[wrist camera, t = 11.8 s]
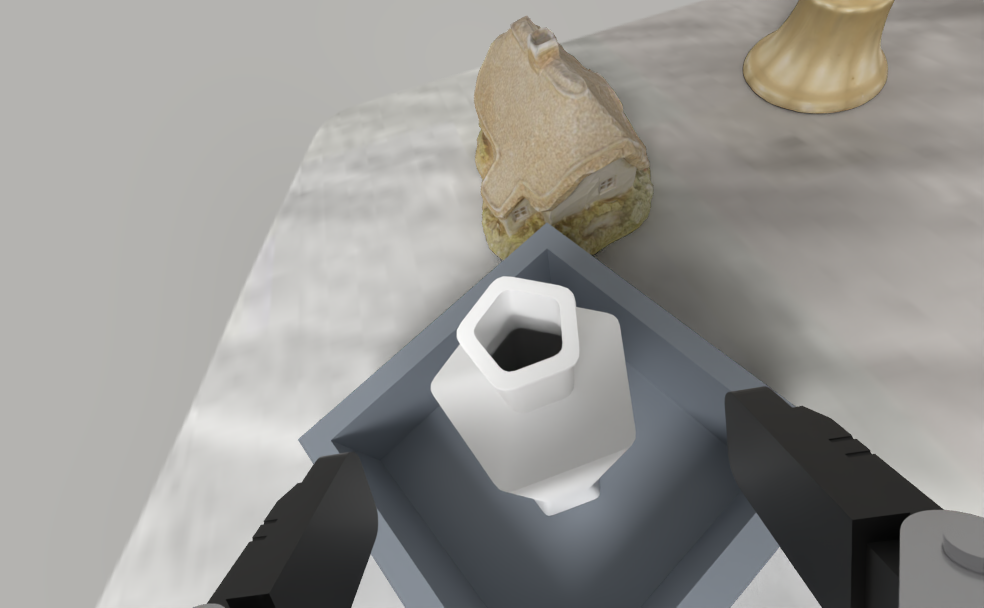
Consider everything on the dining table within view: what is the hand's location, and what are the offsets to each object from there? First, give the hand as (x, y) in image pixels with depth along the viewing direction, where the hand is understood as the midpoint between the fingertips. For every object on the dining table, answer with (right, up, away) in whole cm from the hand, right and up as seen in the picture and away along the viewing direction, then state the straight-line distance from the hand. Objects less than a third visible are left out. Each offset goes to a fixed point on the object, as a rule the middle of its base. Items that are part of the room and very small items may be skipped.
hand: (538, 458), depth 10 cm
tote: (+2, -4, +12) cm, 13 cm away
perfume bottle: (+2, -4, +11) cm, 12 cm away
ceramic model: (+3, +11, +20) cm, 23 cm away
